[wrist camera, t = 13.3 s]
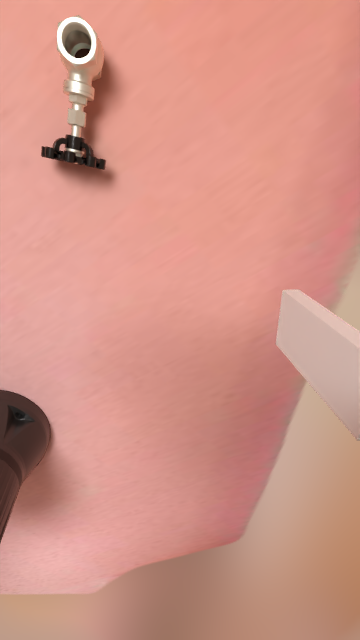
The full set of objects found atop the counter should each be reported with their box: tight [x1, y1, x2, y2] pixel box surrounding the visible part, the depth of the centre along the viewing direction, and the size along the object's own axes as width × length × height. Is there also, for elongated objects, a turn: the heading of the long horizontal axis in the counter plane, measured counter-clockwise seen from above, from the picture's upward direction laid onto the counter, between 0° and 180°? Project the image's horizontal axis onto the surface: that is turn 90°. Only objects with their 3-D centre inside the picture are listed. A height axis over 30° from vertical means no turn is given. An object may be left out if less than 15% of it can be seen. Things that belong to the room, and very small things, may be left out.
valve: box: [41, 15, 106, 170], centre depth 35 cm, size 7×7×12 cm
